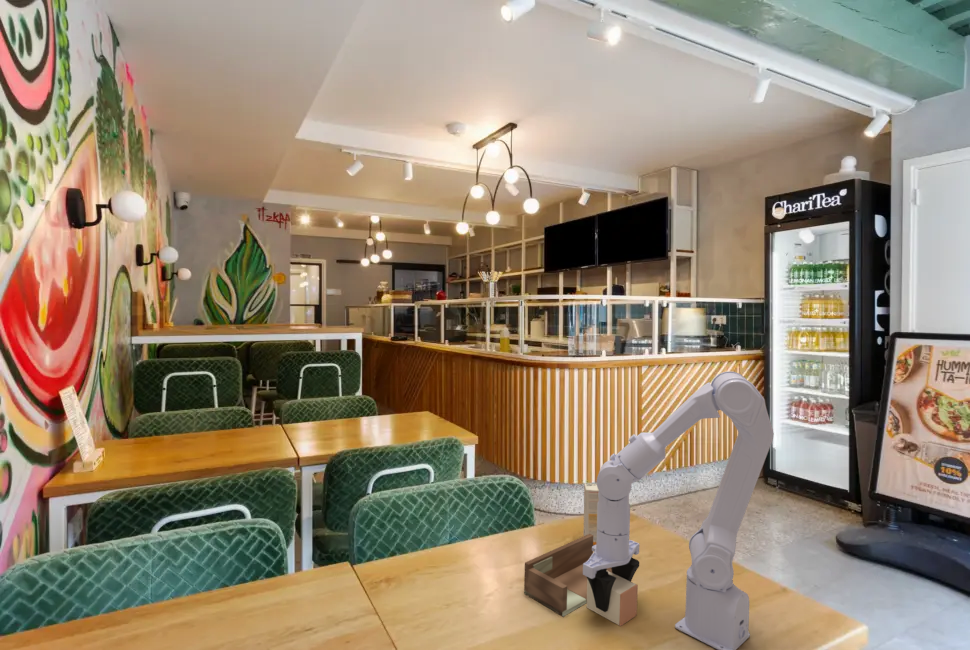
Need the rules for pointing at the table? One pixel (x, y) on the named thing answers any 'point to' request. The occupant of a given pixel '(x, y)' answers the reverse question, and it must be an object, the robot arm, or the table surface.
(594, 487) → the supplement box
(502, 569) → the table surface
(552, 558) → the shelf
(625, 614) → the cream rectangular block
